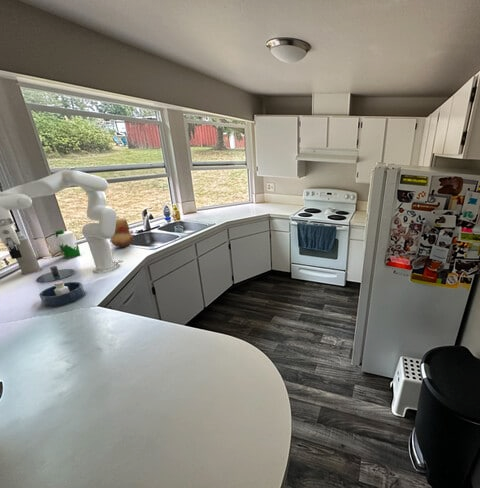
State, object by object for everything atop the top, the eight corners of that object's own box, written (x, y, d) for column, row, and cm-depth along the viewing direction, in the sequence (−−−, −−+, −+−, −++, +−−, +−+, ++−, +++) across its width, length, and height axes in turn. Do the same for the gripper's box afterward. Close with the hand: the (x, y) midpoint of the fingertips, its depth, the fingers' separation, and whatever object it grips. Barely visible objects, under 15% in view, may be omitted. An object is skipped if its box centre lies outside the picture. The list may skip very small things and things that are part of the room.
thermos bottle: (37, 267, 166) (20, 227, 156) (43, 270, 163) (26, 229, 153) (20, 272, 159) (1, 231, 149) (25, 275, 156) (6, 233, 146)
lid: (71, 268, 166) (68, 259, 164) (78, 275, 157) (75, 266, 155) (34, 277, 154) (30, 267, 151) (40, 286, 145) (35, 275, 142)
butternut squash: (117, 250, 196) (108, 220, 187) (110, 247, 202) (101, 217, 194) (137, 245, 207) (130, 216, 198) (130, 242, 213) (123, 214, 205)
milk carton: (62, 256, 184) (52, 230, 177) (78, 252, 191) (69, 227, 184) (66, 259, 179) (56, 232, 172) (82, 255, 186) (73, 229, 179)
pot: (80, 288, 143) (77, 279, 141) (88, 297, 135) (85, 287, 133) (41, 300, 132) (36, 290, 129) (47, 311, 123) (42, 300, 121)
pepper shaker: (65, 295, 135) (59, 280, 132) (72, 296, 135) (66, 280, 132) (57, 300, 131) (50, 284, 128) (64, 300, 131) (57, 284, 128)
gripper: (15, 224, 116) (29, 257, 122) (12, 217, 126) (25, 249, 132) (-11, 227, 110) (5, 262, 116) (-13, 220, 120) (3, 253, 126)
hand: (16, 255), depth 124 cm, fingers open, 9 cm apart
